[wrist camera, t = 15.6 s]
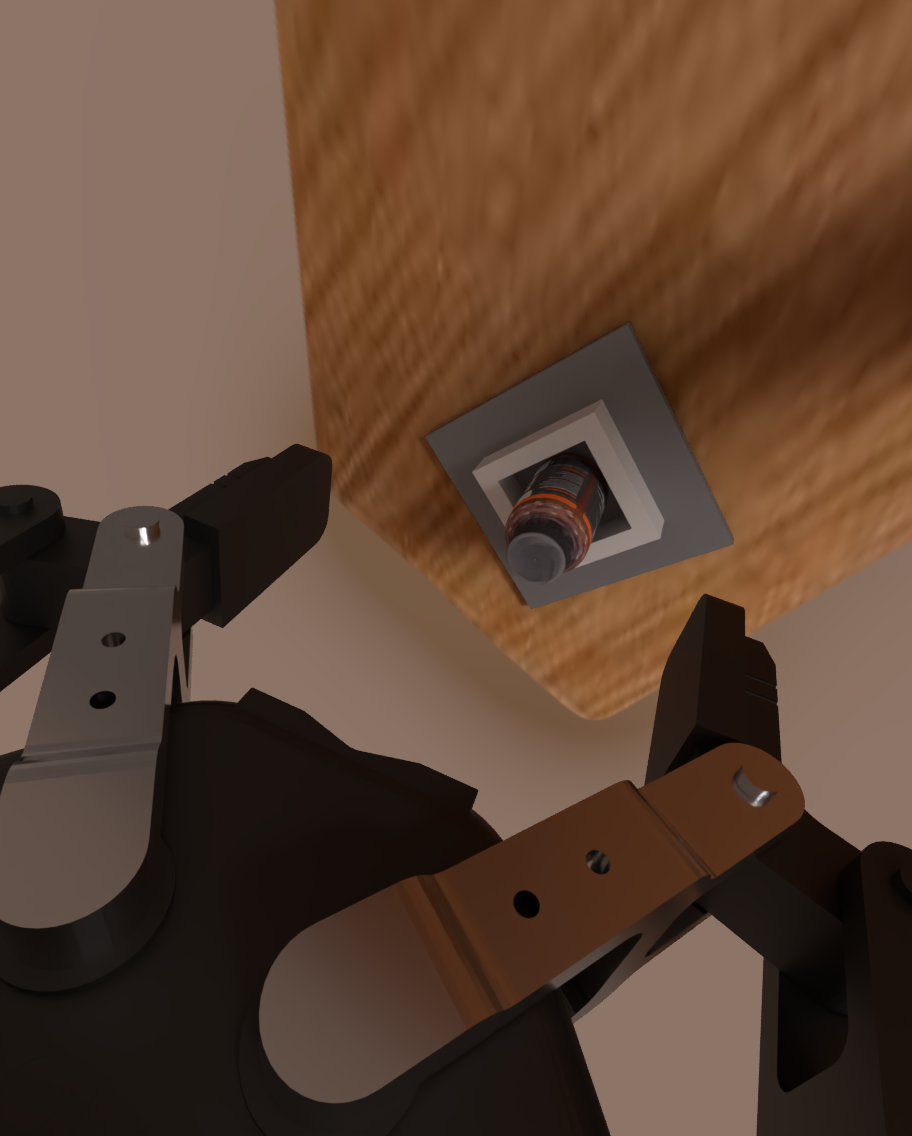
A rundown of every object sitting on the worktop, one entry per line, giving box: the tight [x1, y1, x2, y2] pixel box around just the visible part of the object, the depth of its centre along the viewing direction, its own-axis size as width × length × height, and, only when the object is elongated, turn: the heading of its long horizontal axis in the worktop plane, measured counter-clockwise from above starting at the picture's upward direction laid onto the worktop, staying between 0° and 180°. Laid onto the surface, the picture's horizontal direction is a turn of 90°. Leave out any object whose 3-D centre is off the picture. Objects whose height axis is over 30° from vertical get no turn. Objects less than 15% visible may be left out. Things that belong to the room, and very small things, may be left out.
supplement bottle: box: [504, 454, 608, 585], centre depth 46 cm, size 6×6×11 cm
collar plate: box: [425, 321, 734, 609], centre depth 49 cm, size 18×18×4 cm
